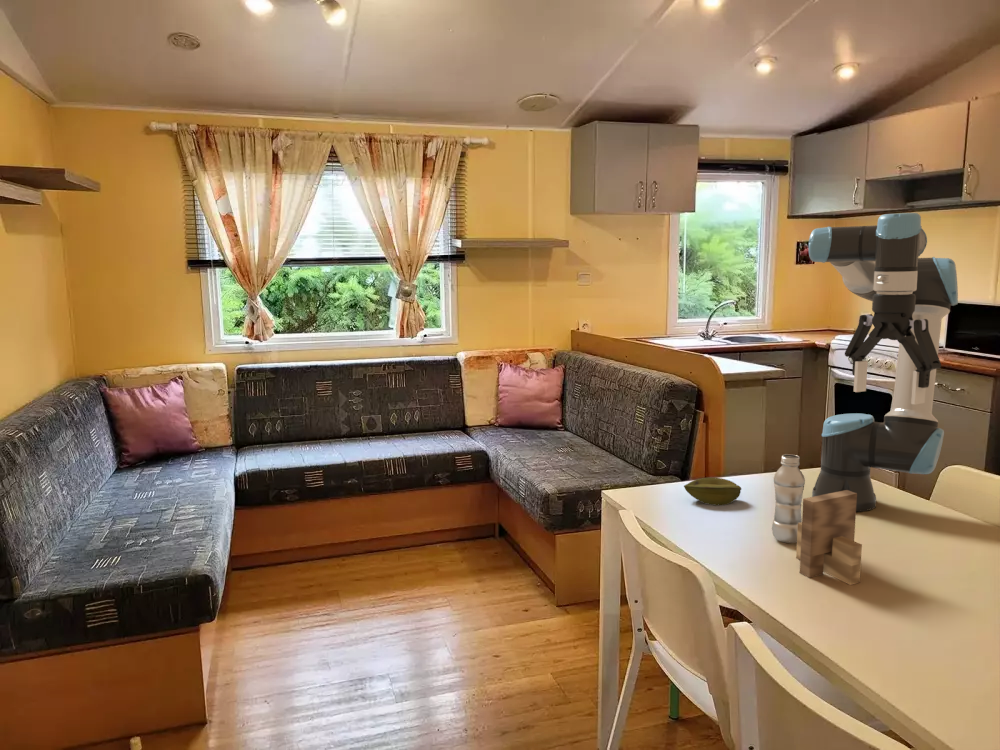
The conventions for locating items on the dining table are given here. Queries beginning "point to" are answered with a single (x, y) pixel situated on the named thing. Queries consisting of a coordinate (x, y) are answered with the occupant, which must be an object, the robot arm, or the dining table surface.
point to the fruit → (713, 490)
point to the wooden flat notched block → (825, 527)
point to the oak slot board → (839, 558)
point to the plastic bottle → (788, 499)
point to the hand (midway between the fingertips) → (887, 397)
